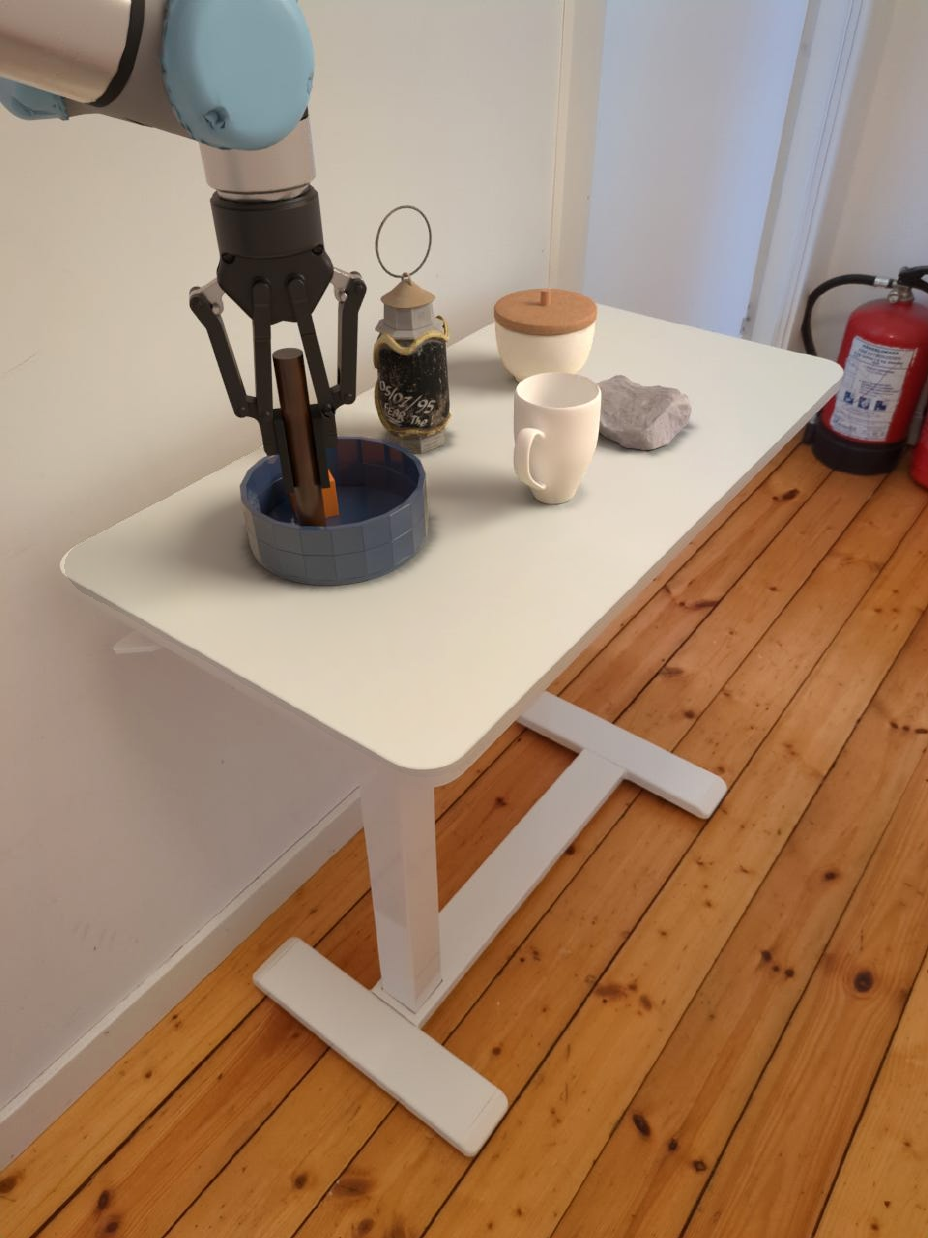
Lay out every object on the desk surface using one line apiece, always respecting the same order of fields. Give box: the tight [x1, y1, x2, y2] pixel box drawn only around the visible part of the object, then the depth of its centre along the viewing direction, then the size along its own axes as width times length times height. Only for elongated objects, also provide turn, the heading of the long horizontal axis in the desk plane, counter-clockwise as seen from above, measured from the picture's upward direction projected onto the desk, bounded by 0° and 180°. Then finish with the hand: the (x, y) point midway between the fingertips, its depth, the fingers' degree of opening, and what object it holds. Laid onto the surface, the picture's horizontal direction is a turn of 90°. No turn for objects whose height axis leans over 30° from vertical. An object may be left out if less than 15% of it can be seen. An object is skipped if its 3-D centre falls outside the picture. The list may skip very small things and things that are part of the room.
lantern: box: [372, 204, 452, 454], centre depth 94 cm, size 9×8×25 cm
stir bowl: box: [239, 435, 430, 586], centre depth 86 cm, size 17×17×6 cm
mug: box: [513, 372, 601, 505], centre depth 87 cm, size 12×8×11 cm
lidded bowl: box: [493, 287, 598, 384], centre depth 111 cm, size 13×13×11 cm
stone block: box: [596, 374, 692, 451], centre depth 103 cm, size 12×5×10 cm
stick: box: [271, 347, 327, 527], centre depth 75 cm, size 2×2×18 cm
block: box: [289, 469, 339, 518], centre depth 89 cm, size 4×4×4 cm
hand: (306, 482), depth 77 cm, fingers closed on stick, 2 cm apart
